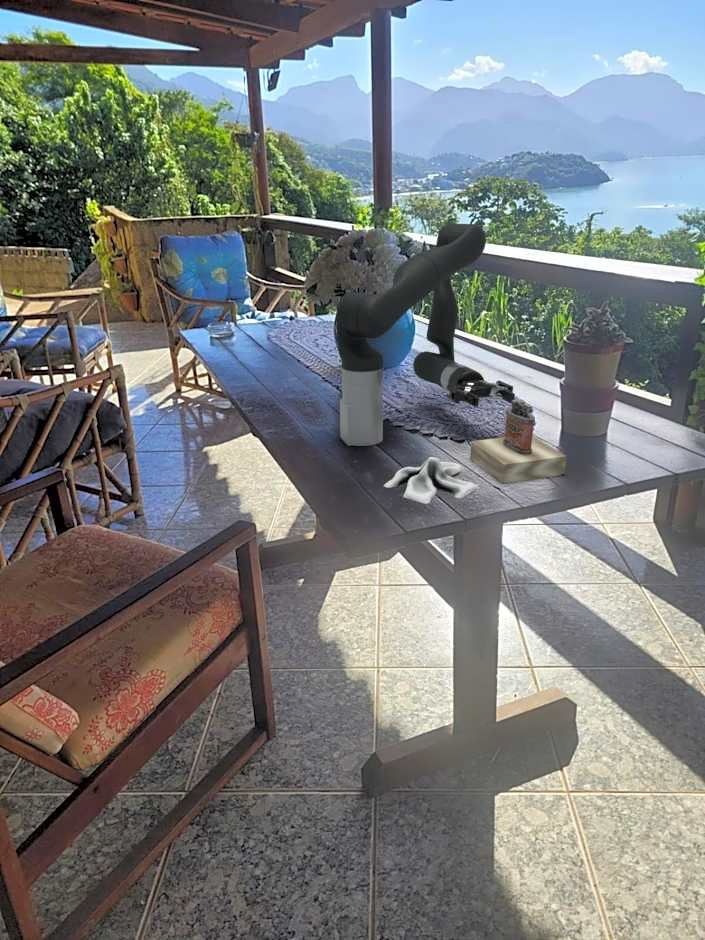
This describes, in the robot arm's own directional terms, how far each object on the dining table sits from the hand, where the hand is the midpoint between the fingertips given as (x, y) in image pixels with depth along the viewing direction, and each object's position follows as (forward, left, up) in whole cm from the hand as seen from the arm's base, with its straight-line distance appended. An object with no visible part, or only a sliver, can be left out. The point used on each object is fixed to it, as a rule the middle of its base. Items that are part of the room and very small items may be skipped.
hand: (495, 400), depth 143 cm
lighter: (0, -10, -8) cm, 13 cm away
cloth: (-21, -12, -12) cm, 27 cm away
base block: (0, -10, -11) cm, 15 cm away
